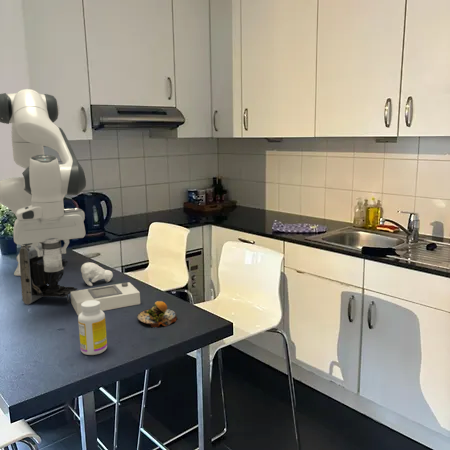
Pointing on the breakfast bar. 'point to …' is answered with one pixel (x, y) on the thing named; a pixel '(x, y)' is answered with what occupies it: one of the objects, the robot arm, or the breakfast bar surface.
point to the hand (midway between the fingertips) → (52, 254)
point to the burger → (158, 315)
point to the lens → (52, 255)
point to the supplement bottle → (92, 328)
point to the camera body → (107, 296)
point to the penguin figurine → (94, 273)
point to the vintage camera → (39, 277)
